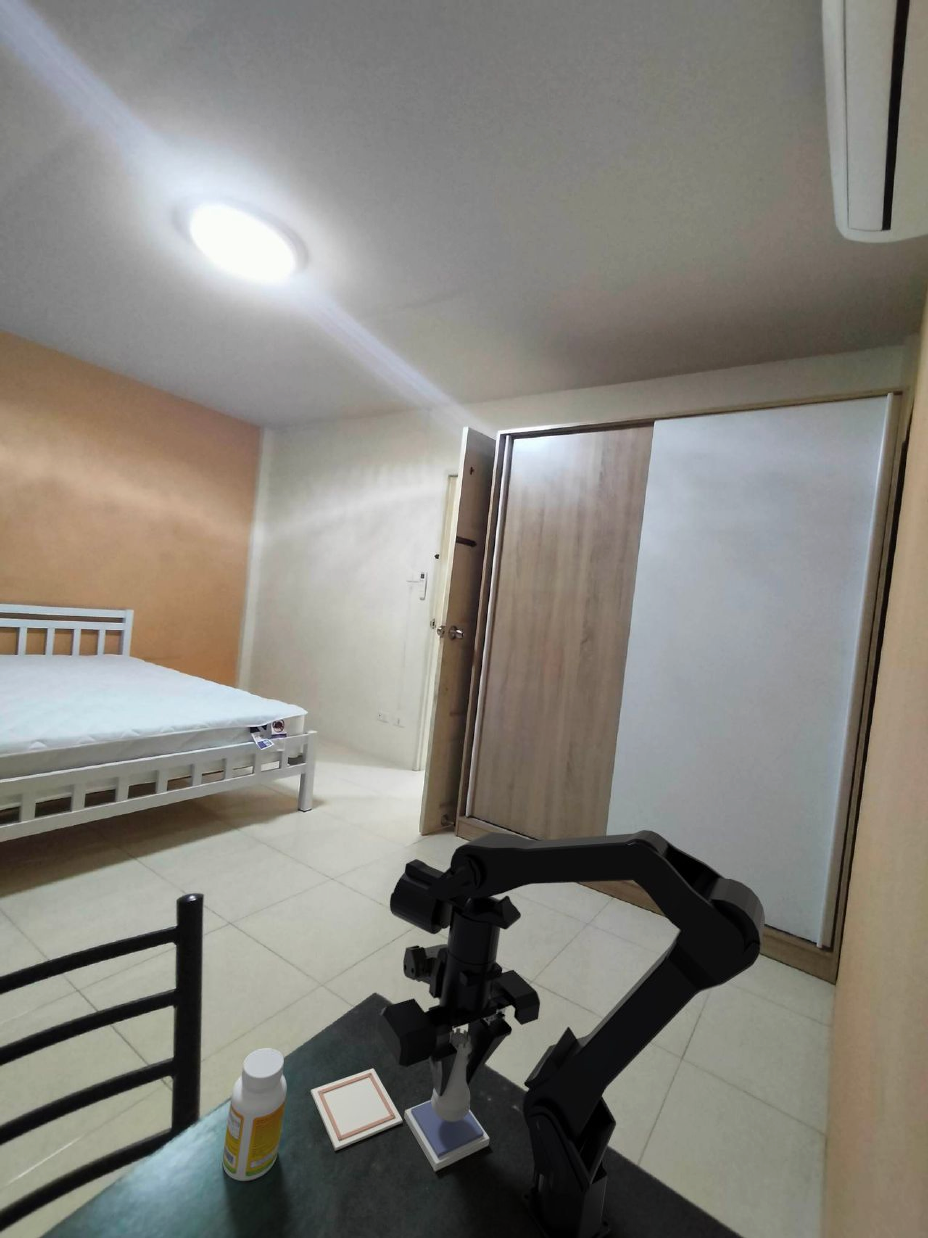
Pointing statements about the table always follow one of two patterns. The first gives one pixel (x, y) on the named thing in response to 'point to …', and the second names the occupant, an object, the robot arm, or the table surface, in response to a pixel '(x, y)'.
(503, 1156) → the table surface
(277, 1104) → the supplement bottle
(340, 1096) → the marked square board
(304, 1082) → the table surface
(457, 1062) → the rook chess piece
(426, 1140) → the ink pad
